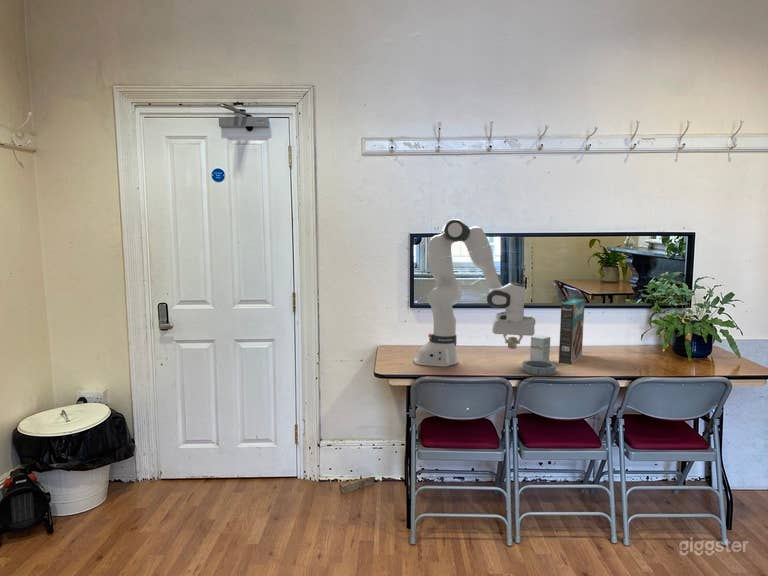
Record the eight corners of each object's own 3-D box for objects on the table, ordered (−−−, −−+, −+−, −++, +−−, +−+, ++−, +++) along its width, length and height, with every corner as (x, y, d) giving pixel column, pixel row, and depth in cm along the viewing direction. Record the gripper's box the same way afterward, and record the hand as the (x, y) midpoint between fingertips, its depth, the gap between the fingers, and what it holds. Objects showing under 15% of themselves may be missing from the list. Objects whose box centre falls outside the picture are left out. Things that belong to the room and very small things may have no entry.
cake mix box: (570, 364, 266) (573, 304, 262) (558, 362, 269) (561, 303, 265) (581, 355, 284) (584, 299, 280) (570, 353, 287) (572, 298, 283)
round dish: (526, 375, 246) (526, 368, 245) (519, 366, 261) (519, 359, 260) (559, 376, 245) (559, 368, 245) (550, 367, 260) (551, 360, 259)
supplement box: (529, 360, 272) (530, 336, 271) (536, 358, 278) (537, 334, 276) (542, 363, 267) (543, 338, 266) (549, 360, 272) (550, 336, 271)
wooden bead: (508, 348, 261) (509, 338, 261) (507, 346, 265) (507, 336, 265) (517, 349, 261) (517, 338, 260) (515, 346, 265) (516, 336, 265)
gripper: (534, 315, 264) (532, 343, 266) (492, 313, 265) (490, 340, 267) (537, 318, 257) (535, 346, 259) (494, 316, 258) (492, 343, 260)
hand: (512, 343), depth 263 cm, fingers closed on wooden bead, 4 cm apart
